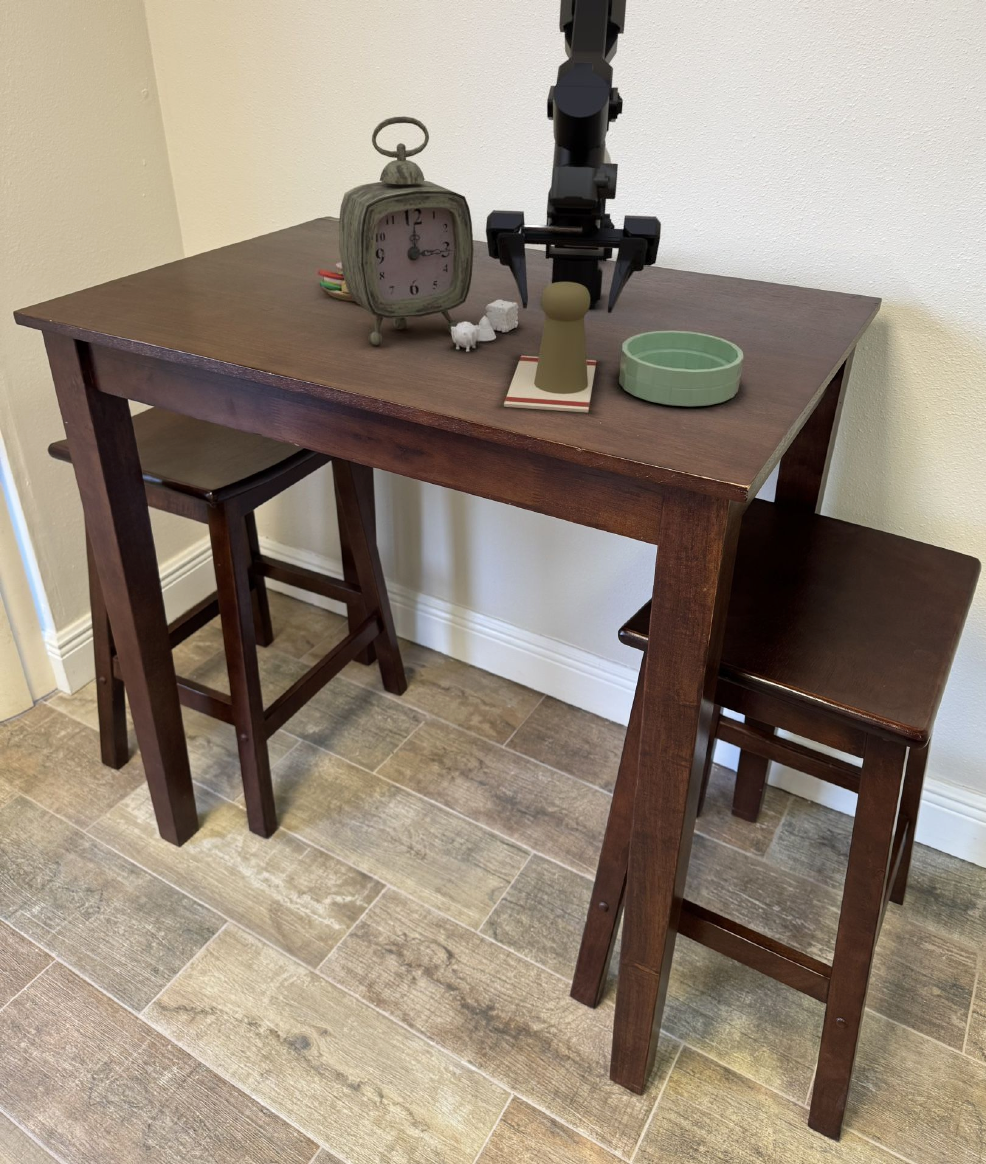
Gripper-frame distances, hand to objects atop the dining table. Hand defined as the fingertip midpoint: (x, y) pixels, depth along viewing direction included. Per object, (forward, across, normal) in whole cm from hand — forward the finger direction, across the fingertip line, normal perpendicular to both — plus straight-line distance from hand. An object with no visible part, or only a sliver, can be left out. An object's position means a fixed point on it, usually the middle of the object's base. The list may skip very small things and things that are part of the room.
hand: (567, 308), depth 101 cm
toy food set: (-16, -30, +29) cm, 44 cm away
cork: (+7, 0, +5) cm, 8 cm away
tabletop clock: (-4, -21, +16) cm, 27 cm away
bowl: (+5, +13, +7) cm, 15 cm away
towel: (+6, -1, +6) cm, 9 cm away
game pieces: (-4, -11, +16) cm, 20 cm away
